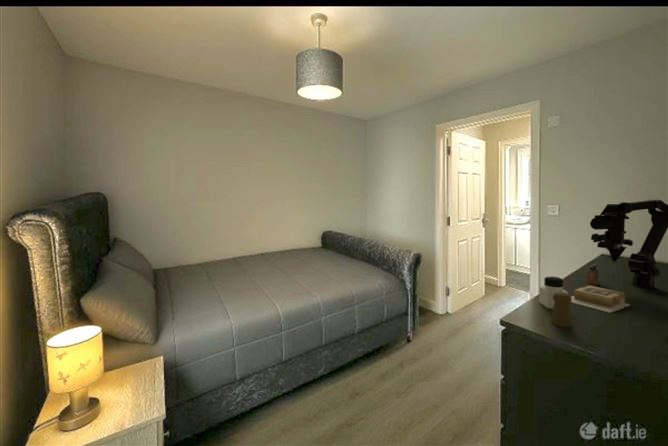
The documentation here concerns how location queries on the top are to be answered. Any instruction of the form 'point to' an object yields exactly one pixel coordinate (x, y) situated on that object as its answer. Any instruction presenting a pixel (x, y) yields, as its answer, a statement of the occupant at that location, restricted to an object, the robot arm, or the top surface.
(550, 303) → the medicine bottle
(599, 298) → the letter block
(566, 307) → the wooden pepper mill
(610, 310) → the felt mat
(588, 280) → the lighter
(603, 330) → the top surface
